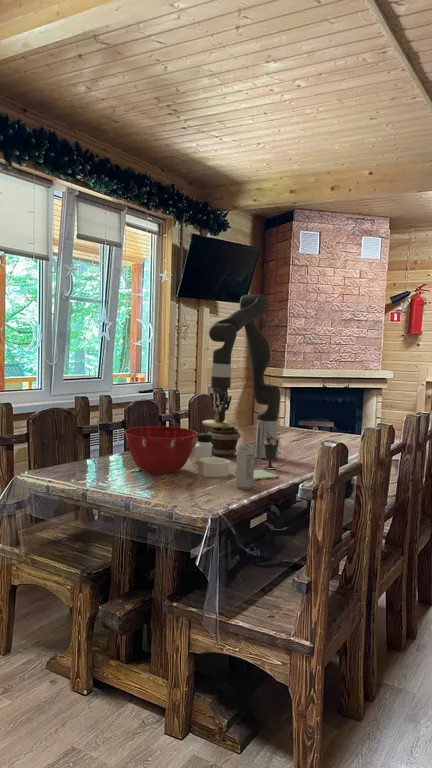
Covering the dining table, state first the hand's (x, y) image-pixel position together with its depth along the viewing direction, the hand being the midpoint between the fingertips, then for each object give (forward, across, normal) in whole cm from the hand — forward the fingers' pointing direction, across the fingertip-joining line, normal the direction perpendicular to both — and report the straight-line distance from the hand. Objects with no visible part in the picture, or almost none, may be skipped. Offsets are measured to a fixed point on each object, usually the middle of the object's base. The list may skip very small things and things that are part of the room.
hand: (219, 420), depth 213 cm
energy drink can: (+21, -24, +2) cm, 32 cm away
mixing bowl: (+21, +11, +19) cm, 31 cm away
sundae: (+21, +2, -26) cm, 33 cm away
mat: (+21, -8, -13) cm, 26 cm away
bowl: (+21, 0, +1) cm, 21 cm away
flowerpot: (+21, +34, -21) cm, 45 cm away
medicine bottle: (+21, +22, -6) cm, 31 cm away
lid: (+2, 0, 0) cm, 2 cm away
